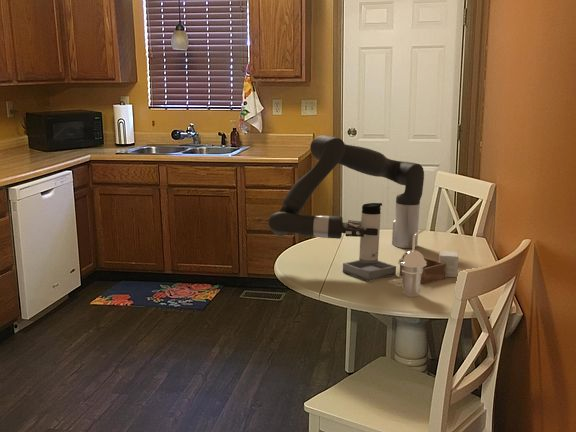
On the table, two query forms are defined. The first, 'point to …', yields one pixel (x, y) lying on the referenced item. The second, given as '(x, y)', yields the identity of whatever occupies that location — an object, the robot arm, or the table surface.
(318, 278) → the table surface
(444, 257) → the product box
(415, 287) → the cup with straw
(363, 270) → the slate tray
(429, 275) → the walnut holder
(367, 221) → the travel mug
